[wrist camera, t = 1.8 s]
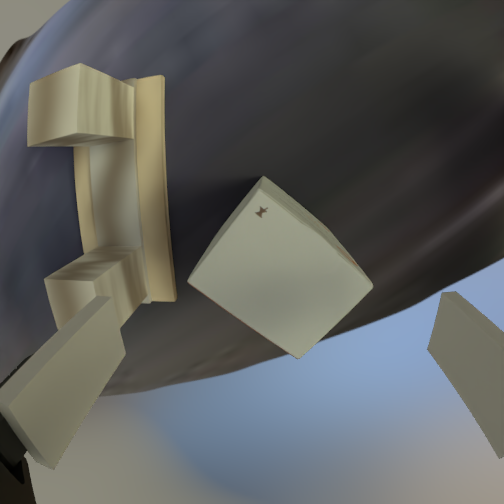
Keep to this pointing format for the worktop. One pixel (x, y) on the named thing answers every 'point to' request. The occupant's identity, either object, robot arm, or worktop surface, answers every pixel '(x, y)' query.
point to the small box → (280, 271)
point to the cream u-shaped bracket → (109, 187)
